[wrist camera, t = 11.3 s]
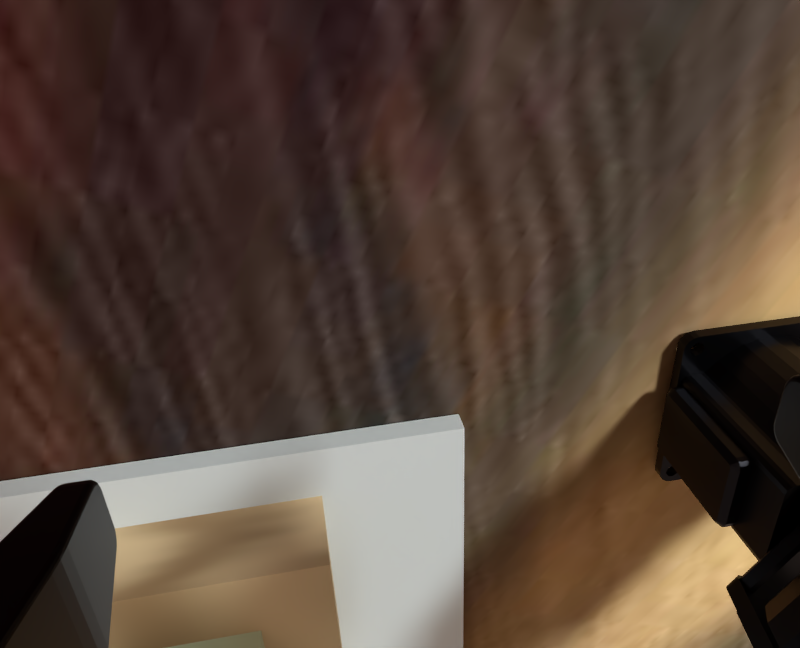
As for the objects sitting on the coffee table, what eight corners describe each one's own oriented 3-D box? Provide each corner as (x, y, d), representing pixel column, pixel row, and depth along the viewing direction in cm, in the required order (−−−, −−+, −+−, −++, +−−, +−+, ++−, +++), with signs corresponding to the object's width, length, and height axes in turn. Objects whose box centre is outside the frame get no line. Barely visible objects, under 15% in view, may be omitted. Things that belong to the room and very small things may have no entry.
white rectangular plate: (458, 414, 24) (464, 428, 23) (458, 663, 31) (463, 680, 30) (-173, 506, 21) (-187, 525, 21) (-17, 756, 29) (-23, 776, 28)
